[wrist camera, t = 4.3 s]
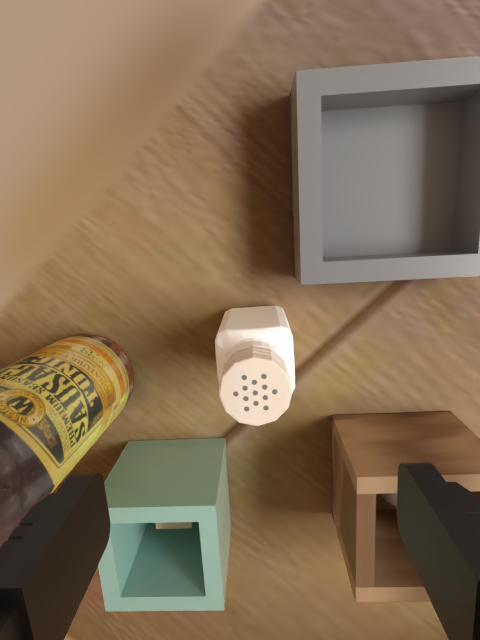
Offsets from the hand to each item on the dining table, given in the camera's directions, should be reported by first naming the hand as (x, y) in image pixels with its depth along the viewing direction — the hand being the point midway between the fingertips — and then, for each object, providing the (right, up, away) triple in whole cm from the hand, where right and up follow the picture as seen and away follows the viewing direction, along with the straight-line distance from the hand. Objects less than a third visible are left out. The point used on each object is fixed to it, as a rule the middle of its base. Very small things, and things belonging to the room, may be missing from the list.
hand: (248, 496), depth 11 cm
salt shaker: (+1, +4, +16) cm, 16 cm away
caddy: (+8, +13, +13) cm, 20 cm away
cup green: (-5, -7, +18) cm, 20 cm away
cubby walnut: (+10, -6, +17) cm, 21 cm away
